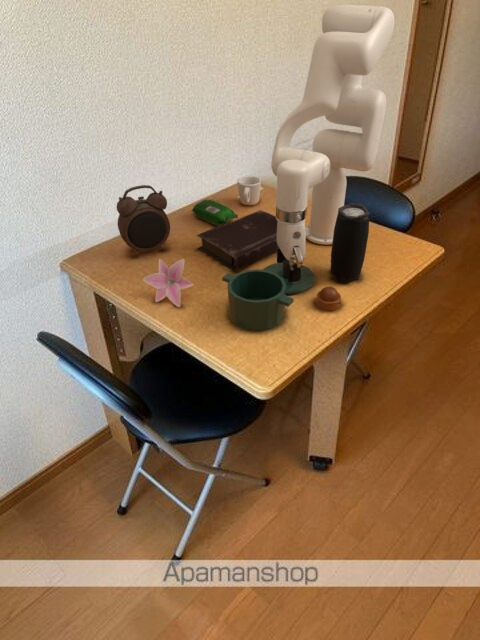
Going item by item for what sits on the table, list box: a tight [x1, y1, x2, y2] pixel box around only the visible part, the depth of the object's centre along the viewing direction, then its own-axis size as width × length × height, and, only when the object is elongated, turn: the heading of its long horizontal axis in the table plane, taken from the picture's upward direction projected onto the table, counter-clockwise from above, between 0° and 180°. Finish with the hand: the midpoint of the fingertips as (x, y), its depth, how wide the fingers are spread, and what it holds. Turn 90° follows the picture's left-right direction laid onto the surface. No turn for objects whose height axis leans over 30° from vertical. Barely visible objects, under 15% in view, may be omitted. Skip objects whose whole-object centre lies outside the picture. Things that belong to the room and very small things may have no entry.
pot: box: [221, 268, 295, 332], centre depth 120 cm, size 14×19×8 cm
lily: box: [142, 258, 194, 308], centre depth 127 cm, size 12×12×10 cm
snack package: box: [191, 198, 239, 227], centre depth 160 cm, size 7×16×5 cm, turn 46°
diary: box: [196, 209, 278, 272], centre depth 147 cm, size 19×25×5 cm
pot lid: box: [262, 259, 316, 295], centre depth 132 cm, size 15×15×6 cm
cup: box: [237, 175, 262, 206], centre depth 168 cm, size 11×8×8 cm
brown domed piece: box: [315, 286, 342, 312], centre depth 124 cm, size 6×6×5 cm
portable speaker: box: [329, 202, 371, 284], centre depth 129 cm, size 9×9×20 cm
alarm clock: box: [116, 184, 171, 258], centre depth 141 cm, size 15×7×20 cm, turn 114°
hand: (288, 271), depth 132 cm, fingers open, 9 cm apart
